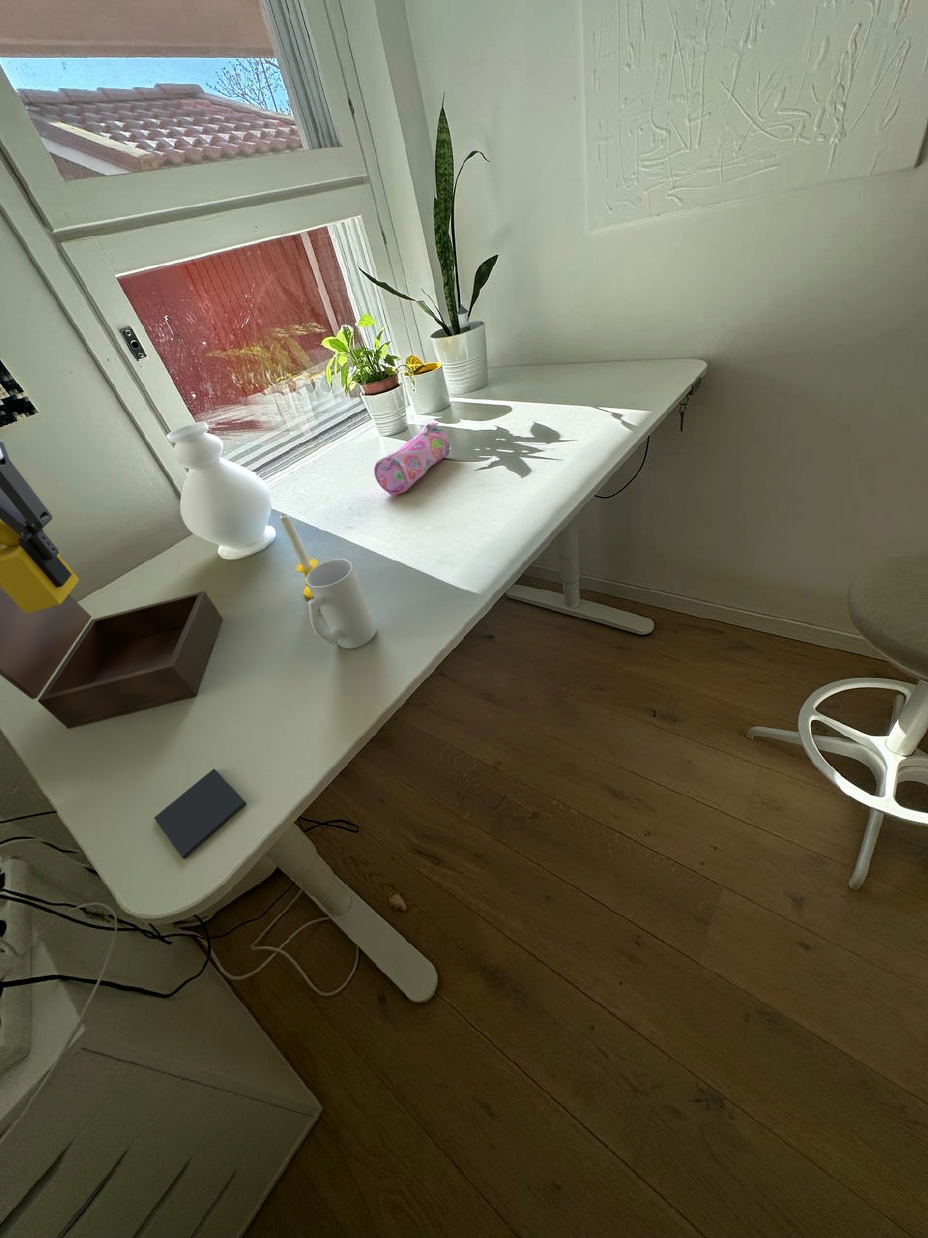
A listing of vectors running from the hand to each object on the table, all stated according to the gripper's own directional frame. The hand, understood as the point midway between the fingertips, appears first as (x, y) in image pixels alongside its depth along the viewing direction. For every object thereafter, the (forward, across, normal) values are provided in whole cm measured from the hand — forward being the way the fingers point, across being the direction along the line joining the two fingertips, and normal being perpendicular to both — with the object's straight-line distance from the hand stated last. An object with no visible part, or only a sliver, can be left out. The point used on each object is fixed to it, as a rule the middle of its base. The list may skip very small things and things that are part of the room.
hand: (44, 585), depth 65 cm
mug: (+22, -32, -1) cm, 39 cm away
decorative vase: (+22, -8, -44) cm, 50 cm away
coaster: (+22, -14, +23) cm, 35 cm away
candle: (+22, -26, -18) cm, 38 cm away
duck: (+2, 0, 0) cm, 2 cm away
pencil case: (+22, -48, -56) cm, 77 cm away
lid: (+5, +12, -7) cm, 15 cm away
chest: (+22, +1, -8) cm, 23 cm away
